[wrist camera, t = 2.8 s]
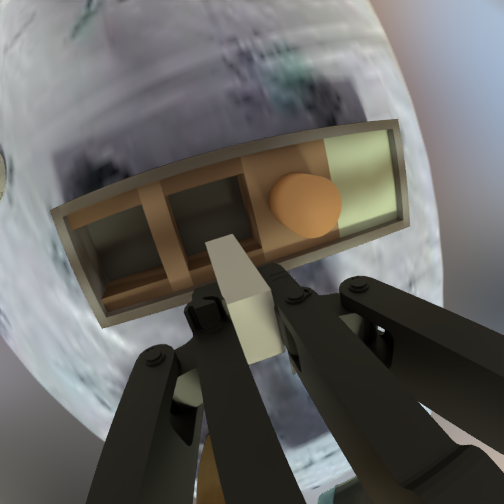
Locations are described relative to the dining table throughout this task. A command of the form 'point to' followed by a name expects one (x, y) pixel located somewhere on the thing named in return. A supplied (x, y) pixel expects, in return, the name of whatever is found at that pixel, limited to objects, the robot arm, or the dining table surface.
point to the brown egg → (305, 204)
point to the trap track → (226, 215)
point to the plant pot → (209, 478)
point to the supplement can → (2, 177)
